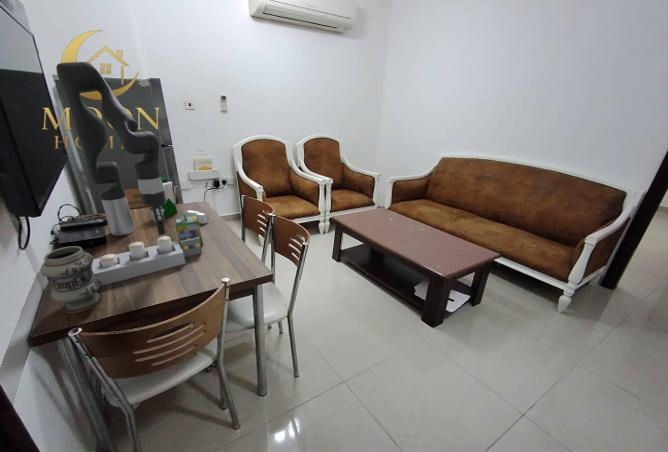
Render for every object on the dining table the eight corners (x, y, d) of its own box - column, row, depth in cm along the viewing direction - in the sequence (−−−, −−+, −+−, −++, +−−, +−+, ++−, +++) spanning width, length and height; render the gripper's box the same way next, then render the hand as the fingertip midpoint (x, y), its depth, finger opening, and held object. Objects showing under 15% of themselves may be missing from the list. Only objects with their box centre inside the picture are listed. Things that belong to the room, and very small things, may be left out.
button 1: (103, 268, 105) (99, 256, 103) (119, 264, 108) (115, 252, 106) (103, 274, 102) (99, 261, 100) (119, 270, 104) (115, 258, 102)
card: (183, 256, 119) (180, 241, 116) (201, 252, 123) (198, 237, 120) (184, 257, 118) (180, 242, 115) (202, 253, 122) (199, 238, 119)
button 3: (158, 249, 114) (155, 237, 112) (171, 246, 117) (169, 235, 115) (160, 254, 111) (157, 242, 109) (173, 250, 113) (171, 239, 111)
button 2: (131, 255, 109) (128, 243, 107) (145, 252, 112) (142, 240, 110) (132, 260, 106) (128, 248, 104) (147, 257, 108) (143, 245, 106)
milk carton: (180, 212, 165) (173, 177, 157) (169, 218, 157) (161, 182, 149) (166, 211, 166) (158, 176, 158) (154, 216, 158) (146, 180, 150)
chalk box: (203, 245, 129) (197, 214, 123) (180, 249, 125) (173, 217, 119) (201, 237, 136) (196, 207, 130) (180, 240, 132) (173, 210, 127)
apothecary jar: (72, 293, 95) (52, 244, 88) (113, 289, 98) (98, 241, 91) (48, 318, 84) (23, 264, 77) (96, 312, 87) (76, 260, 80)
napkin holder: (183, 220, 156) (181, 210, 154) (205, 216, 162) (204, 206, 160) (188, 229, 145) (186, 219, 142) (212, 225, 151) (210, 214, 148)
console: (96, 271, 107) (92, 259, 105) (179, 251, 123) (177, 240, 121) (95, 287, 99) (91, 274, 97) (185, 263, 114) (183, 252, 112)
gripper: (138, 187, 107) (148, 230, 114) (141, 196, 97) (153, 242, 104) (161, 184, 111) (170, 226, 118) (166, 192, 101) (176, 237, 108)
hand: (162, 233), depth 111 cm, fingers closed
